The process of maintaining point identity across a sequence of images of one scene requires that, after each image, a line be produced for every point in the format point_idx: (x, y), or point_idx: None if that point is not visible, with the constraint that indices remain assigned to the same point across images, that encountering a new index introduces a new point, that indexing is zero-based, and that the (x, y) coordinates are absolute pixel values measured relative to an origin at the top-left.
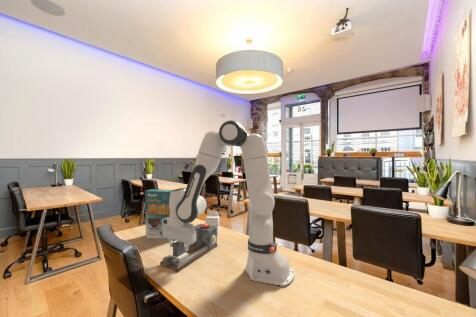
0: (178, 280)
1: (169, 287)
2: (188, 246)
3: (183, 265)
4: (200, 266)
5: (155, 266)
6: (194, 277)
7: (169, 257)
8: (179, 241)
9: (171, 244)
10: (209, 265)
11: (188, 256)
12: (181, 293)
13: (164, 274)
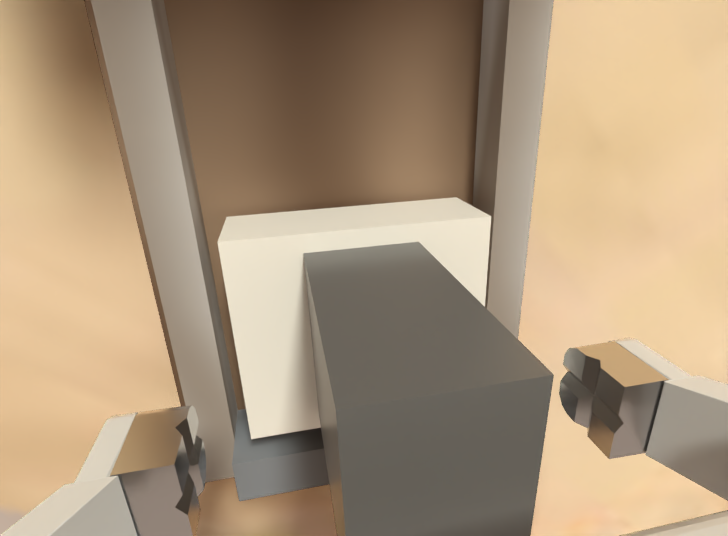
0: (567, 455)
1: (560, 529)
2: (706, 385)
3: None
4: (635, 182)
5: None
6: (667, 355)
7: (312, 460)
8: (416, 488)
9: (185, 523)
10: (725, 98)
11: (405, 141)
12: (668, 509)
13: None
